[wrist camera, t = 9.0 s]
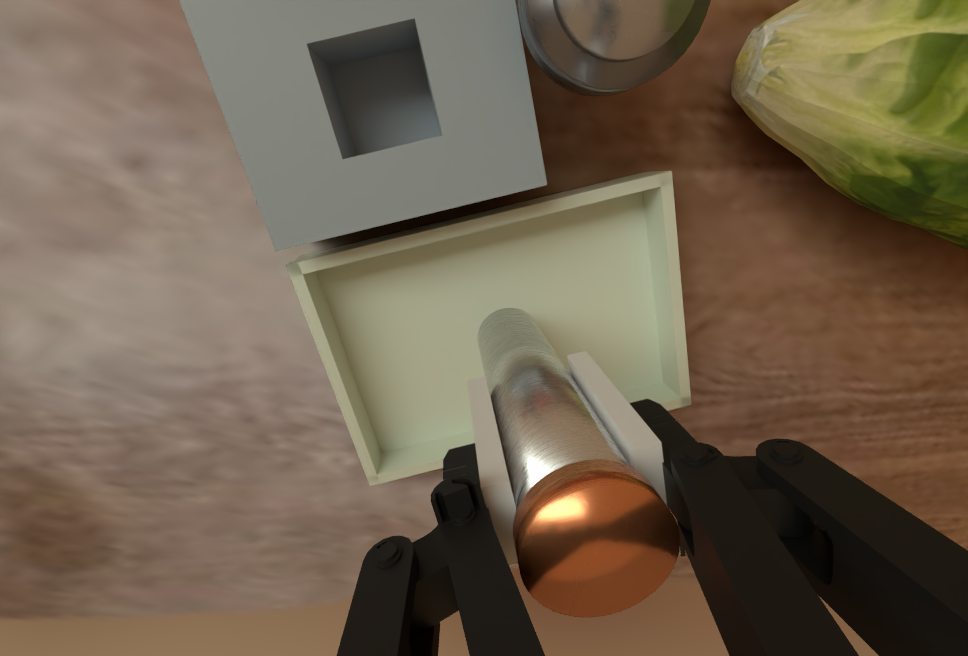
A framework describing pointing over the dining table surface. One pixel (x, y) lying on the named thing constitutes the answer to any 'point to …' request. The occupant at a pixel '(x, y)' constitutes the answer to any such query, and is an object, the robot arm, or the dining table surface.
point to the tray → (485, 289)
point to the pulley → (608, 40)
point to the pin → (570, 482)
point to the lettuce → (869, 102)
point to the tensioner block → (370, 107)
